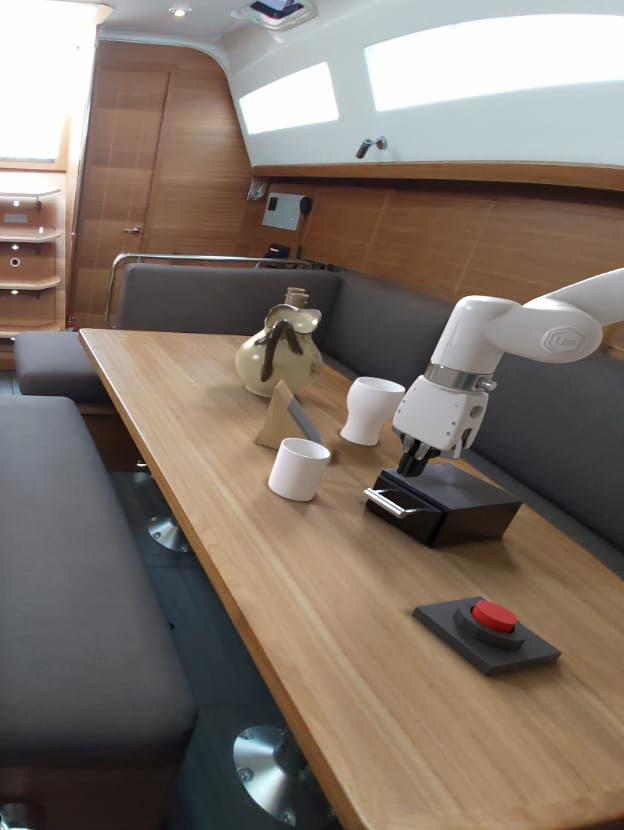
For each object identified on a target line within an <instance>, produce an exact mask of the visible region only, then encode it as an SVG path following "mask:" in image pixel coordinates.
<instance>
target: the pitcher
mask: <svg viewBox="0 0 624 830" xmlns="http://www.w3.org/2000/svg"><path fill="white" fill-rule="evenodd" d="M322 317H323V316H322V314H321V311H320V309H314V308H306V309H298V308H295V307H293V306H290V305H287V304H285V303H279V304H277V305H275V306H273V307H271V308H270V310H269V312H268V313H267V316H266V317H265V320H264V322H263V325H264V326H263V327H264V328H263V329H261V330H260V331H259V332H257V333H256V334H254V335H253V336H251V337H249V338H248V339H246V341H244V342H243V343H242V344H241V345H240V346H239V348H238V350H237V351H236V353H235V362H234V363H235V368H236V371H237V374H238V375H239V378H240V379H241V381H242V382H243V383H244V384H245V389H247V390H248V391H249V392H250V393H252V394H255V395H257V396H260V397H264V398H269V399H272V396H273V393H274V390H275V388H276V387H277V385H278V384H279V382H280V381H281V379H283V381H284V382H285V384H286V385H287V387H288V388H289V390H290V391H291V393H292V394H293V395H296V394H298V393H300V392H302V391H304V390H306V389H307V388H309V387H310V386H311V385H313V384H314V383H315V382H316V381H317V380H318V378H319V377H320V375H321V373H322V371H323V356H322V354H321V351H320V350H319V348H318V347H317V345H316V344H315V342H314V340H313V338H312V334H313V333H314V332H315V331H316V330H317V329H318V325H320V323H321V320H322Z"/></svg>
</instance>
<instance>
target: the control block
mask: <svg viewBox="0 0 624 830" xmlns="http://www.w3.org/2000/svg"><path fill="white" fill-rule="evenodd" d="M479 601H488V599H486V598H484V597H483V596H482V595H479V596H473V597H466V598H461V599H454V600H448V601H443V602H436V603H430V604H424V605H417V606H415V608H414V609H413V612H412V613H411V616H412V617H413V618H415V619H416V620H417V621H418V622H419V623H421V624H422V625H423V626H424V627H425V628H427V630H429V631H431V632H432V634H434V635H435V636H437V637H438V638H439V639H440V640H442V641H443V642H444V643H445V644H446V645H448V647H450V648H451V649H453V650H454V651H455V652H456V653H457V654H458V655H460V656H461V657H462V658H464V659H465V660H466V661H467V662H469V663H470V664H471V665H472V666H474V667H475V668H476V669H477V670H478V671H480V672H481V673H482V674H483V675H485V676H487V677H488V676H492V675H497V674H498V675H499V674H502V673H506V672H511V671H512V672H513V671H516V670H517V671H518V670H521V669H525V668H531V667H536V666H540V665H545V664H550V663H555V662H557V661H558V660H559V658H560V657H561V656H562V655H563V652H562V651H561V650H559V649H558V648H556V647H555V646H553V644H551V643H549V642H548V641H547V640H545V639H543V638H542V637H541V636H539V635H538V634H536V633H534V632H533V631H532V630H531V629H529V628H528V627H526V626H525V625H524V624H522V623H521V621H520V620H518V619H517V623H516V624H515V626H514V627H513V629H512V630H511V631H510V632H509V633H503V632H499V631H495V630H493V629H491V628H489V627H487V626H485V625H483V624H482V623H480V622H479V621H478V620H476V619H475V618H474V617H473V615H472V611H473V609H474V608H475V606H476V605H477V603H478V602H479Z"/></svg>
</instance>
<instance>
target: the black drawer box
mask: <svg viewBox="0 0 624 830" xmlns="http://www.w3.org/2000/svg"><path fill="white" fill-rule="evenodd" d="M397 469H398V467H391V468H390V467H389V468H382V469H381V472H380V473H379V476H381V475H384V476H385V477H387V478H389V479H390V480H393V481H395V482H397V483H398V484H400V485H402V486H404V487H405V488H407V489H409V490H410V491H412V492H414V493H415V494H417V495H419V496H421V497H422V498H424V499H426V500H427V501H429V502H431V503H432V504H434V505H436V506H438V507H439V508H441V509H443V510H444V511H445V512H446V513H445V514H444V516H443V518H442V520H441V522H440V524H439V525H438V527H437V529H436V531H435V533H434V535H433V537H432V538H431V540H430V542H429V544H425V546H427V547H429V548H430V549H436V548H443V547H450V546H457V545H464V544H472V543H480V542H487V541H494V540H501V539H502V537H504V534H505V533H506V531H507V530H508V528H509V527H510V525H511V523H512V522H513V521H514V518H515V516H516V515H517V514H518V512H519V510H520V508H521V507H522V505H523V504H524V502H525V500H523V499H521V498H519V497H517V496H516V495H513V494H511V493H509V492H507V491H505V490H503V489H501V488H499V487H497V486H496V485H493V484H492V483H489V482H487V481H486V480H483V479H481V478H479V477H478V476H475V475H473V474H472V473H470V472H468V471H465V470H464V469H462V468H459V467H457V466H455V465H454V464H451V463H449V462H445V463H433V464H427V465H426V467H425V468H424V470H423V472H422V474H421V475H419V476H418V477H410V478H405V477H403V476H402V475H401V474H398V473H396V471H397Z"/></svg>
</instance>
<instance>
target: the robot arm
mask: <svg viewBox="0 0 624 830" xmlns="http://www.w3.org/2000/svg"><path fill="white" fill-rule="evenodd" d="M623 321H624V267H622V268H618V269H615V270H612V271H608V272H605V273H602V274H599V275H595V276H593V277H589V278H587V279H584V280H581V281H579V282H576V283H573V284H570V285H567V286H565V287H562V288H560V289H558V290H555V291H551V292H549V293H547V294H544V295H542V296H539V297H537V298H534V299H532V300H530V301H528V302H526V303H524V304H523V305H522V304H521V303H519V302H517V301H515V300H510V299H507V298H502V297H495V296H488V295H487V296H486V295H469V296H465V297H463V298H461V299H459V300H458V301H457V302H456V305H455V306H454V308H453V310H452V312H451V314H450V317H449V318H448V321H447V324H446V325H445V327H444V330H443V331H442V334H441V336H440V338H439V340H438V343H437V344H436V347H435V349H434V351H433V354H432V355H431V358H430V359H429V362H428V364H427V367H426V368H425V371H424V372H423V374H421V375H418V377H417V378H416V379H415V380H414V382H413V383H412V384H411V386H410V387H409V388H408V390H407V392H405V395H404V398H403V400H402V402H401V403H400V405H399V407H398V409H397V411H396V413H395V415H394V416H393V417H392V418H393V419H392V426H391V427H390V431H391V432H392V433H394V434H395V435H396V436H397V437H399V440H400V442H401V444H402V446H401V451H402V452H403V454H402V456H401V458H400V461H399V463H398V464H397V466H398V467H397V468H398V469H397V471H396V473H398V474H401V475H402V476H403V477H405V478H410V477H418V476H419V475H421V474H422V472H423V470H424V468H425V467H426V465H428V462H429V460H431V459H432V460H433V459H435V458H440V459H444V460H447V461H456V460H459V459H460V456H461V451H462V450H468V449H470V448H471V446H472V444H473V443H474V440H475V438H476V436H477V434H478V432H479V430H480V428H481V424H482V423H483V420H484V417H485V413H486V410H487V407H488V401H489V396H490V395H489V393H488V392H485V391H486V390H487V391H494V390H495V389H497V388H496V387H497V386H498V382H496V381H493V379H492V378H493V376H494V372H495V370H496V368H497V366H498V364H499V362H500V360H501V359H502V357H503V355H504V353H507V354H511V355H515V356H519V357H521V358H526V359H529V360H533V361H536V362H541V363H546V364H567V363H571V362H572V363H573V362H577V361H579V360H582V359H585V358H586V357H588V356H590V355H592V353H594V352H595V351H596V350H597V349H598V348H599V347H600V345H601V343H602V341H603V336H604V333H603V329H602V328H603V327H606V326H610V325H613V324H616V323H620V322H623Z"/></svg>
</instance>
